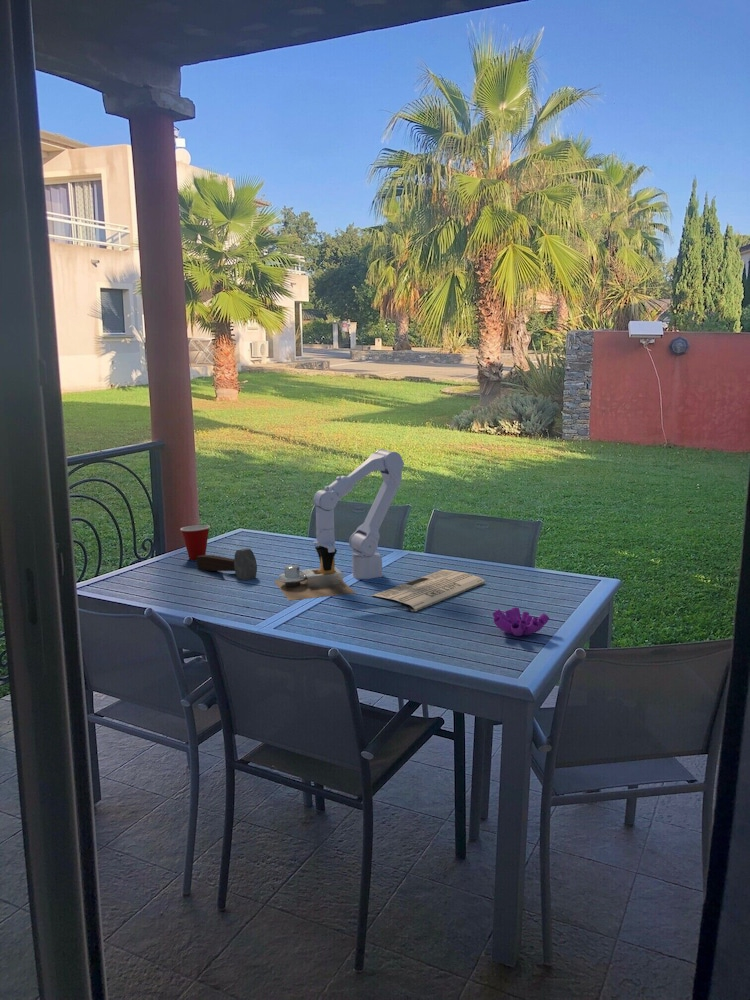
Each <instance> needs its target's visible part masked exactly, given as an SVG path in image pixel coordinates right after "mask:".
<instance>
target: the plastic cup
mask: <svg viewBox="0 0 750 1000" xmlns="http://www.w3.org/2000/svg"><path fill="white" fill-rule="evenodd" d="M210 527H211V526H210V525H208V524H196V525H188V526H183V527H180V529H179V530H180V531H181V534H182V536H183V540H184V543H185V544H184V545H185V548H186V551H187V555H188V559H189V560H191V561H196V558H197V556H201V555H207V552H206V551H207V547H208V536H209V531H210Z"/></svg>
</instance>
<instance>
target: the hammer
mask: <svg viewBox="0 0 750 1000" xmlns="http://www.w3.org/2000/svg"><path fill="white" fill-rule="evenodd" d="M195 561H196V562H195V563H196V566H197V569H198V570H201V571H205V572H206V571H207V572H208V571H209V572H212V571H213V572H214V571H215V572H235V575H236V577H237V579H239V580H242V581H248V580H251V579H256V577H257V573H258V563H257V560H256V556H255V554H254V552H253V550H252V548H241V549H236V552H235V553H234V557H233V558H229V557H225V556H220V555H214V554H213V555H212V554H211V555H210V554H206V555H201V556H197V558H196V560H195Z"/></svg>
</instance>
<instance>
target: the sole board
mask: <svg viewBox="0 0 750 1000" xmlns="http://www.w3.org/2000/svg"><path fill="white" fill-rule="evenodd" d="M274 582H275V584H276V586H277V587H278V588H279V589H280V591H281V593H283V595H284V596H285V597H286V598H287V600H288V601H289V602H290V601H298V600H307V599H316V598H325V597H335V596H342V595H351V594H356V591H354V590H353V588H351V587H350V586H349V585H348V584H347V583H346V582H345V581H344V580H343V584H335V585H325V586H316V587H307V586H306V585H305V584H304V582H303V581H302V582H300V586H298V587H286V586H285V583H284V582H280V581H279V579H278V580H274Z"/></svg>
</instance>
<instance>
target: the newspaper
mask: <svg viewBox="0 0 750 1000" xmlns="http://www.w3.org/2000/svg"><path fill="white" fill-rule="evenodd" d="M485 583H486V581H485V580H484V579H483V578H482V577H480V576H477V575H474V574H470V573H467V572H463V571H455V570H450V569H441V570H438V571H435V572H433V573H429V574H428V575H424V576H422V577H419V578H416V579H413V580H411V581H407V582H405V583H403V584H400V585H396V586H395V587H394V586H393V587H392V588H389V589H386V590H382V591H379V592H378V593H375V594H372V595H370V597H378V598H383V599H388V600H392V601H397V602H399V603H401V604H402V603H403V604H405V605H409V606H411V609H409V610H410V611H411V612H413V613H414V612H418V611H419V610H423V609H425V608H428V607H430V606H432V605H434V604H437V603H440V602H442V601H444V600H447V599H449V598H452V597H455V596H457V595H459V594H461V593H464V592H466V591H469V590H471V589H473V588H476V587H479V586H481V585H483V584H485Z"/></svg>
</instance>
